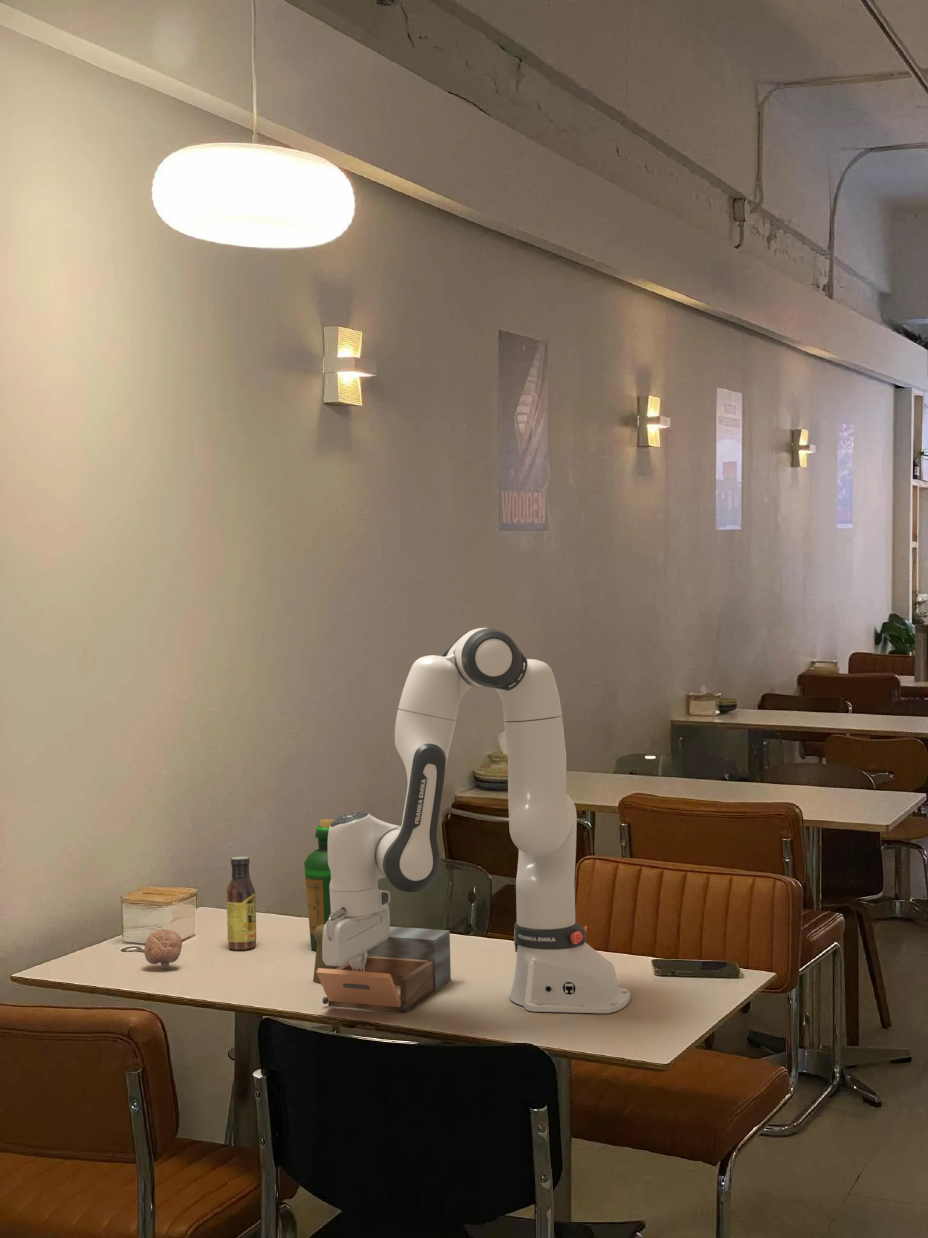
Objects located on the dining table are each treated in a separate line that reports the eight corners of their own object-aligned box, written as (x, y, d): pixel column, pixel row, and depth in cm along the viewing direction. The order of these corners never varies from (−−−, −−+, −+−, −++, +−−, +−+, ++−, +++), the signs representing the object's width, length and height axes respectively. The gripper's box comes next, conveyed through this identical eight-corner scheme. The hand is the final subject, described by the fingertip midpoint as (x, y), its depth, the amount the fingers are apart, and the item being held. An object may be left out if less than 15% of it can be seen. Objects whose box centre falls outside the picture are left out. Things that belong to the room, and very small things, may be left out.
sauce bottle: (254, 951, 302) (251, 860, 302) (225, 952, 302) (223, 861, 302) (259, 944, 309) (256, 854, 308) (230, 944, 309) (228, 855, 309)
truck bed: (452, 981, 275) (451, 930, 275) (405, 1015, 253) (404, 960, 253) (375, 974, 281) (374, 925, 281) (322, 1007, 259) (321, 954, 259)
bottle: (312, 941, 309) (309, 816, 309) (359, 942, 308) (356, 816, 308) (300, 954, 299) (296, 824, 298) (348, 954, 297) (345, 824, 297)
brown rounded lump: (188, 967, 290) (187, 929, 290) (166, 974, 285) (165, 936, 285) (162, 963, 294) (161, 925, 294) (140, 970, 289) (139, 931, 289)
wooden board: (401, 1003, 254) (390, 973, 250) (399, 1008, 253) (387, 979, 249) (330, 996, 259) (318, 968, 255) (328, 1002, 258) (315, 973, 254)
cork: (338, 984, 274) (337, 929, 274) (309, 983, 276) (307, 928, 276) (347, 976, 280) (345, 922, 280) (318, 975, 282) (317, 921, 281)
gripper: (342, 916, 243) (347, 995, 243) (394, 890, 262) (398, 963, 262) (311, 915, 245) (315, 992, 246) (364, 889, 264) (368, 961, 265)
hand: (358, 977), depth 254 cm, fingers closed, pressing on wooden board
